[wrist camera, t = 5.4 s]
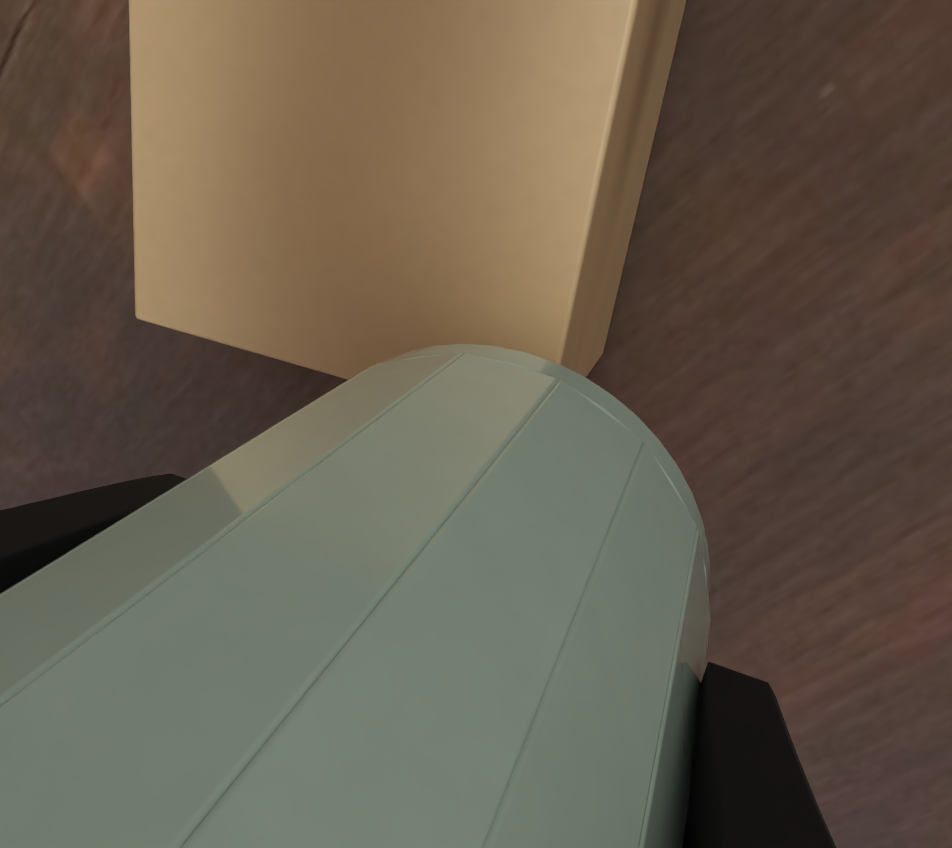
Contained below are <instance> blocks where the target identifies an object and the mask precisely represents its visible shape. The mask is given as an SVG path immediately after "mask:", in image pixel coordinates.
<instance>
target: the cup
mask: <svg viewBox="0 0 952 848" xmlns="http://www.w3.org/2000/svg"><path fill="white" fill-rule="evenodd" d="M709 588H710V563H709V549H708V544H707V540H706V535H705V530H704V526H703V521H702V518H701V516H700V513H699V510H698V508H697V505H696V502H695V499H694V497H693V494H692V492H691V490H690V488H689V486H688V484H687V483H686V481H685V479H684V477H683V475H682V473H681V471H680V469H679V467H678V466H677V464H676V463H675V461H674V460H673V459H672V457H671V456H670V454H669V453H668V452H667V450H666V449H665V447H664V446H663V445H662V443H661V442H660V440H659V439H658V438H657V437H656V436H655V435H654V434H653V433H652V432H651V431H650V429H649V428H648V427H647V426H646V425H645V424H644V423H643V422H642V421H641V420H640V419H639V418H638V416H637V415H635V414H634V413H633V412H632V411H631V410H629V409H628V408H627V407H626V406H625V405H623V404H622V403H621V402H620V401H619V400H618V399H616V398H615V397H614V396H613V395H612V394H610V393H609V392H607V391H605V390H604V389H602V388H601V387H599V386H598V385H596V384H595V383H593V382H592V381H590V380H588V379H587V378H585V377H584V376H582V375H580V374H578V373H576V372H574V371H572V370H569V369H567V368H565V367H563V366H561V365H559V364H557V363H555V362H552V361H549V360H546V359H543V358H541V357H538V356H535V355H532V354H529V353H526V352H522V351H517V350H512V349H507V348H502V347H497V346H489V345H475V344H454V345H439V346H432V347H427V348H422V349H418V350H413V351H408V352H406V353H403V354H400V355H398V356H395V357H392V358H390V359H387V360H384V361H382V362H380V363H377V364H376V365H373V366H370V367H368V368H367V369H365V370H363V371H362V372H360V373H358V374H357V375H355V376H354V377H352V378H350V379H349V380H347V381H345V382H344V383H342V384H340V385H339V386H337V387H336V388H334V389H332V390H331V391H329V392H327V393H326V394H324V395H323V396H321V397H319V398H318V399H316V400H314V401H313V402H311V403H310V404H308V405H306V406H305V407H303V408H301V409H300V410H298V411H297V412H295V413H293V414H292V415H290V416H288V417H287V418H285V419H284V420H282V421H280V422H279V423H277V424H275V425H274V426H272V427H271V428H269V429H267V430H266V431H264V432H262V433H261V434H259V435H258V436H256V437H254V438H253V439H251V440H249V441H248V442H246V443H245V444H243V445H241V446H240V447H238V448H236V449H235V450H233V451H232V452H230V453H228V454H227V455H225V456H223V457H222V458H220V459H219V460H217V461H215V462H214V463H212V464H210V465H209V466H207V467H205V468H204V469H202V470H201V471H199V472H197V473H196V474H194V475H192V476H191V477H189V478H188V479H186V480H184V481H183V482H181V483H179V484H178V485H176V486H175V487H173V488H171V489H170V490H168V491H166V492H165V493H163V494H162V495H160V496H158V497H157V498H155V499H153V500H152V501H150V502H149V503H147V504H145V505H144V506H142V507H140V508H139V509H137V510H136V511H134V512H132V513H131V514H129V515H127V516H126V517H124V518H123V519H121V520H119V521H118V522H116V523H114V524H113V525H111V526H110V527H108V528H106V529H105V530H103V531H101V532H100V533H98V534H97V535H95V536H93V537H92V538H90V539H88V540H87V541H85V542H83V543H82V544H80V545H79V546H77V547H75V548H74V549H72V550H70V551H69V552H67V553H66V554H64V555H62V556H61V557H59V558H57V559H56V560H54V561H53V562H51V563H49V564H48V565H46V566H44V567H43V568H41V569H40V570H38V571H36V572H35V573H33V574H31V575H30V576H28V577H27V578H25V579H23V580H22V581H20V582H18V583H17V584H15V585H14V586H12V587H10V588H9V589H7V590H5V591H4V592H2V593H1V594H0V848H683V842H684V834H685V826H686V817H687V808H688V799H689V791H690V778H691V763H692V750H693V742H694V734H695V726H696V718H697V710H698V702H699V694H700V686H701V681H702V678H703V676H704V669H705V661H706V653H707V644H708V636H709V628H710V618H711V613H710V605H709Z"/></svg>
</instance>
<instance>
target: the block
mask: <svg viewBox="0 0 952 848" xmlns="http://www.w3.org/2000/svg"><path fill="white" fill-rule="evenodd" d="M685 4H686V0H129V33H130V82H131V130H132V179H133V227H134V276H135V315H136V318H138V319H140V320H143V321H147V322H150V323H154V324H157V325H161V326H164V327H168V328H171V329H175V330H178V331H181V332H185V333H188V334H192V335H195V336H199V337H202V338H206V339H209V340H213V341H216V342H220V343H223V344H226V345H230V346H233V347H237V348H240V349H244V350H247V351H251V352H254V353H258V354H261V355H265V356H268V357H271V358H275V359H278V360H282V361H285V362H289V363H292V364H296V365H299V366H303V367H306V368H310V369H313V370H316V371H320V372H323V373H327V374H330V375H334V376H337V377H341V378H344V379H348V380H349V379H350V378H352V377H354V376H355V375H357V374H358V373H360V372H362V371H363V370H365V369H367V368H368V367H370V366H373V365H376V364H377V363H380V362H382V361H384V360H387V359H390V358H392V357H395V356H398V355H400V354H403V353H406V352H408V351H413V350H418V349H422V348H427V347H432V346H439V345H454V344H475V345H489V346H497V347H502V348H507V349H512V350H517V351H522V352H526V353H529V354H532V355H535V356H538V357H541V358H543V359H546V360H549V361H552V362H555V363H557V364H559V365H561V366H563V367H565V368H567V369H569V370H572V371H574V372H576V373H578V374H580V375H582V376H584V377H585V378H586V376H587V375H588V373H589V372H590V371H591V369H592V368H593V367H594V365H595V364H596V362H597V361H598V360H599V358H600V357H601V355H602V354H603V351H604V347H605V343H606V339H607V334H608V330H609V326H610V322H611V317H612V313H613V309H614V305H615V300H616V296H617V292H618V288H619V284H620V279H621V275H622V271H623V267H624V262H625V258H626V254H627V250H628V245H629V241H630V237H631V233H632V228H633V224H634V220H635V216H636V212H637V207H638V203H639V199H640V195H641V190H642V186H643V182H644V178H645V173H646V169H647V165H648V161H649V157H650V152H651V148H652V144H653V140H654V135H655V131H656V127H657V123H658V118H659V114H660V110H661V106H662V102H663V97H664V93H665V89H666V85H667V80H668V76H669V72H670V68H671V63H672V59H673V55H674V51H675V47H676V42H677V38H678V34H679V30H680V25H681V21H682V17H683V13H684V8H685Z"/></svg>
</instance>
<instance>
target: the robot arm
mask: <svg viewBox="0 0 952 848" xmlns="http://www.w3.org/2000/svg"><path fill="white" fill-rule="evenodd" d="M184 480H186V479H185V478H182V477H179V476H176V475H174V474H165V475H158V476H151V477H146V478H140V479H135V480H130V481H126V482H121V483H116V484H112V485H107V486H103V487H98V488H94V489H90V490H85V491H81V492H77V493H73V494H68V495H64V496H60V497H56V498H52V499H47V500H43V501H39V502H35V503H31V504H26V505H22V506H18V507H14V508H9V509H5V510H1V511H0V594H1V593H2V592H4V591H5V590H7V589H9V588H10V587H12V586H14V585H15V584H17V583H18V582H20V581H22V580H23V579H25V578H27V577H28V576H30V575H31V574H33V573H35V572H36V571H38V570H40V569H41V568H43V567H44V566H46V565H48V564H49V563H51V562H53V561H54V560H56V559H57V558H59V557H61V556H62V555H64V554H66V553H67V552H69V551H70V550H72V549H74V548H75V547H77V546H79V545H80V544H82V543H83V542H85V541H87V540H88V539H90V538H92V537H93V536H95V535H97V534H98V533H100V532H101V531H103V530H105V529H106V528H108V527H110V526H111V525H113V524H114V523H116V522H118V521H119V520H121V519H123V518H124V517H126V516H127V515H129V514H131V513H132V512H134V511H136V510H137V509H139V508H140V507H142V506H144V505H145V504H147V503H149V502H150V501H152V500H153V499H155V498H157V497H158V496H160V495H162V494H163V493H165V492H166V491H168V490H170V489H171V488H173V487H175V486H176V485H178V484H179V483H181V482H183V481H184ZM683 848H836V846H835V844H834V841H833V839H832V837H831V835H830V833H829V830H828V828H827V826H826V824H825V821H824V819H823V817H822V814H821V812H820V810H819V807H818V805H817V803H816V800H815V798H814V795H813V793H812V790H811V788H810V786H809V783H808V781H807V778H806V776H805V773H804V771H803V768H802V766H801V763H800V761H799V758H798V756H797V753H796V750H795V748H794V745H793V743H792V740H791V737H790V735H789V732H788V729H787V727H786V724H785V721H784V718H783V716H782V713H781V710H780V707H779V705H778V702H777V699H776V696H775V694H774V692H773V690H772V689H771V687H770V685H769V683H768V682H765V681H762V680H759V679H756V678H753V677H750V676H748V675H745V674H742V673H739V672H736V671H733V670H730V669H728V668H725V667H722V666H719V665H716V664H713V663H710V662H708V665H707V667H706V670H705V673H704V676H703V678H702V681H701V686H700V694H699V702H698V710H697V718H696V726H695V734H694V742H693V750H692V763H691V778H690V791H689V799H688V808H687V817H686V826H685V834H684V842H683Z"/></svg>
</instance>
